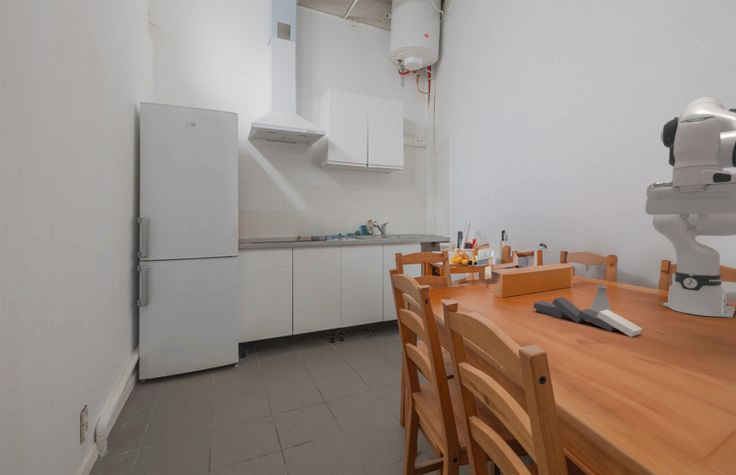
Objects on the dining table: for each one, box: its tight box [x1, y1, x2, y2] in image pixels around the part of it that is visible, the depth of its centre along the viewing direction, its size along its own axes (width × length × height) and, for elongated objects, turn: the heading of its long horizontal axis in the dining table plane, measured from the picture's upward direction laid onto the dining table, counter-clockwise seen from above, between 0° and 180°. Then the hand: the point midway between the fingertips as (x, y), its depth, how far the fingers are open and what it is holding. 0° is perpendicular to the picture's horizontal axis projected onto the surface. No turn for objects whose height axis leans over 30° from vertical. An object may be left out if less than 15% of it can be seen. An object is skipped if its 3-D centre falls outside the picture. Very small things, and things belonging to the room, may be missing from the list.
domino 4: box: [579, 308, 618, 333], centre depth 106 cm, size 2×5×10 cm
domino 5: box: [597, 309, 643, 338], centre depth 101 cm, size 2×5×10 cm
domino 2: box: [535, 309, 570, 320], centre depth 120 cm, size 2×5×10 cm
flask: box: [589, 285, 613, 313], centre depth 120 cm, size 7×7×10 cm
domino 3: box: [551, 296, 587, 324], centre depth 113 cm, size 2×5×10 cm
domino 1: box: [533, 300, 565, 315], centre depth 120 cm, size 2×5×10 cm
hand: (692, 231), depth 88 cm, fingers closed
